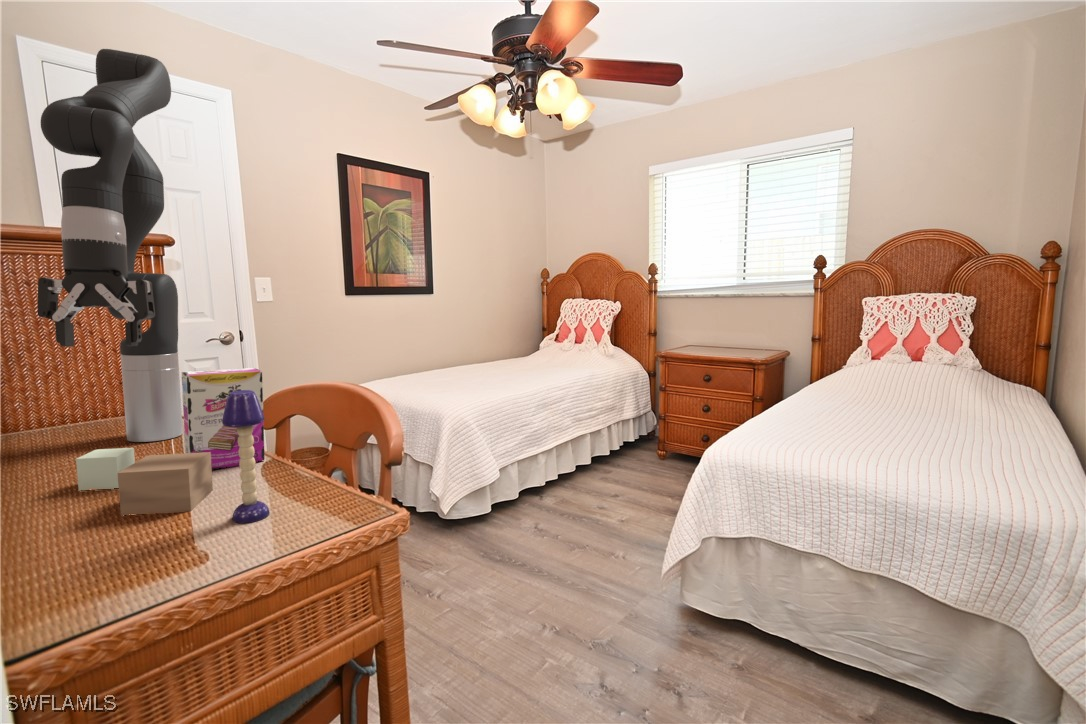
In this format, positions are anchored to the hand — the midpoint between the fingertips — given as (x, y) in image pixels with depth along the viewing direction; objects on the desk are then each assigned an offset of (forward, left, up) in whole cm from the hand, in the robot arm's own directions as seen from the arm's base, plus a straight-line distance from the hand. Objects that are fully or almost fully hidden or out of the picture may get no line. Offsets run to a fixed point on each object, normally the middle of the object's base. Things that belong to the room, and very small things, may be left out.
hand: (100, 346), depth 80 cm
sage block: (+5, +2, -21) cm, 21 cm away
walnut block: (+15, +14, -21) cm, 29 cm away
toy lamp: (+23, +26, -21) cm, 40 cm away
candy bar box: (-2, +16, -21) cm, 26 cm away
